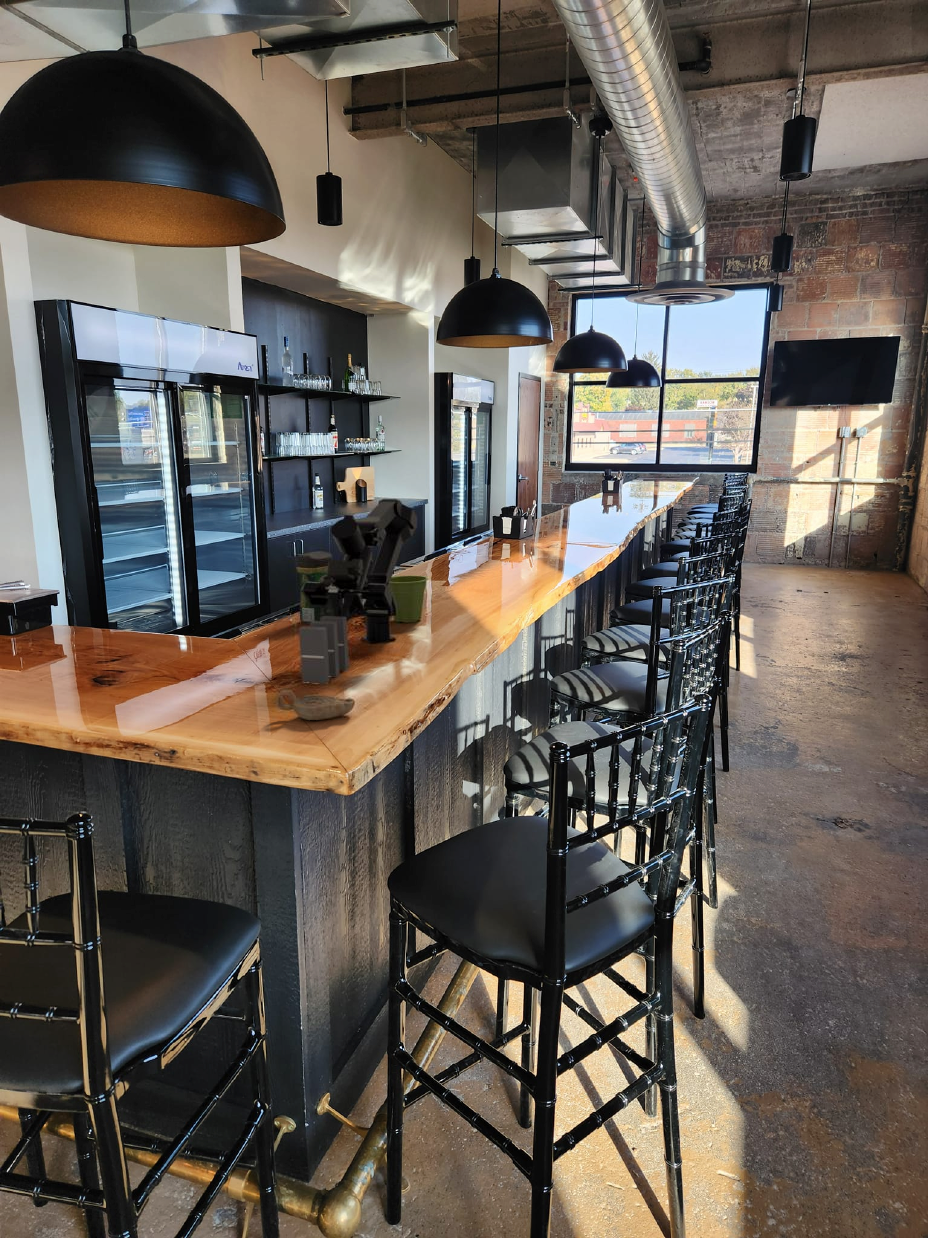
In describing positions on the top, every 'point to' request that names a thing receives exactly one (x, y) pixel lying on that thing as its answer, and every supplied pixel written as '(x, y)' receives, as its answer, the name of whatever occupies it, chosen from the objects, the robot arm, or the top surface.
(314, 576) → the coffee jar
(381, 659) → the top surface
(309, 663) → the domino
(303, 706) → the oil lamp
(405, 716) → the top surface
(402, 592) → the plant pot
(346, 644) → the domino
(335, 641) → the domino
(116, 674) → the top surface
